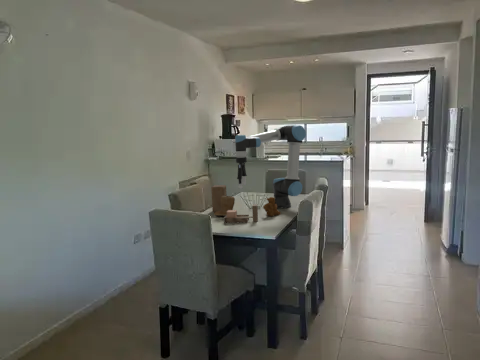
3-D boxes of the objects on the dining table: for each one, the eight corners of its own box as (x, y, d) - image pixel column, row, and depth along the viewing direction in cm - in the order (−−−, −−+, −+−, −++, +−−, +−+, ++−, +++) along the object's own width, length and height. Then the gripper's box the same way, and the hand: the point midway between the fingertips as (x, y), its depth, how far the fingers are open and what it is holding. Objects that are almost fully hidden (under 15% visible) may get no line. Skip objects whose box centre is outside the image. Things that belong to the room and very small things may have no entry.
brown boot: (237, 213, 302) (236, 194, 300) (233, 217, 291) (232, 197, 289) (218, 213, 306) (217, 194, 304) (213, 217, 295) (212, 197, 293)
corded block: (258, 219, 280) (257, 204, 279) (257, 221, 274) (256, 205, 273) (228, 219, 283) (227, 204, 282) (227, 221, 277) (226, 206, 276)
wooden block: (224, 212, 311) (223, 186, 308) (212, 212, 313) (210, 186, 310) (227, 209, 320) (226, 184, 318) (215, 209, 322) (214, 184, 320)
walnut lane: (249, 219, 283) (248, 214, 283) (247, 222, 273) (246, 218, 273) (226, 219, 286) (226, 214, 285) (224, 223, 276) (223, 218, 275)
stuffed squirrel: (281, 213, 297) (280, 196, 295) (274, 217, 284) (273, 199, 282) (269, 212, 301) (268, 195, 299) (261, 217, 289) (260, 199, 287)
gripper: (239, 155, 295) (240, 184, 298) (232, 158, 271) (233, 189, 274) (249, 155, 294) (250, 184, 296) (243, 158, 269) (244, 189, 272)
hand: (242, 186), depth 285 cm, fingers open, 13 cm apart
